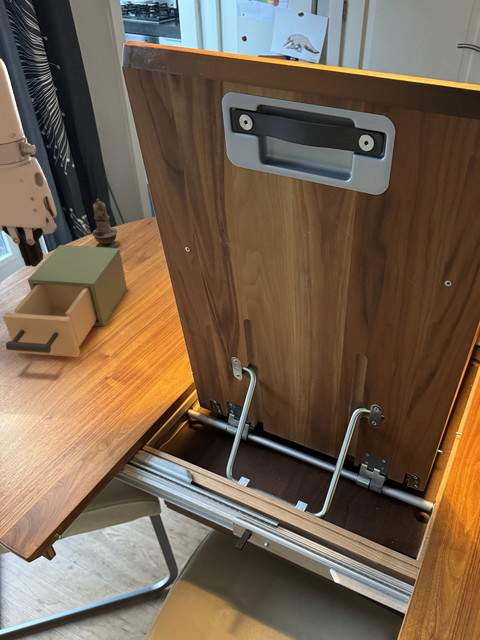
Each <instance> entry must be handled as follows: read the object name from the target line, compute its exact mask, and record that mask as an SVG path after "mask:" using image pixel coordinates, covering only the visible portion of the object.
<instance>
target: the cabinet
mask: <svg viewBox="0 0 480 640" xmlns="http://www.w3.org/2000/svg"><path fill="white" fill-rule="evenodd" d="M27 282H28V286H29V288H30V291H31V290H32V289H33V288H34V287H35V286H36V285H37V284H50V285H66V286H82V287H91V291H92V296H93V300H94V304H95V308H96V312H97V316H98V319H97V320H96V322H95V323H94V325H93V326H92V327H105V325H106V324H107V322H108V320H109V319H110V318H111V315H112V314H113V313H114V311H115V309H116V308H117V306H118V305H119V303H120V301H121V299H122V297H123V296H124V294H125V293H126V291H127V290H128V288H127V282H126V277H125V271H124V267H123V261H122V255H121V251H120V248H119V247H117V248H104V247H96V246H86V245H85V246H84V245H69V244H68V245H67V244H59V245H58V246H57V247H56V248H55V249H54V251H52V253H51V254H49V256H48V257H47V258H46V260H44V262H42V263H41V265H39V266H38V268H36V270H35V271H34V272H33V273H32V274H31V275H30V277H28V278H27Z"/></svg>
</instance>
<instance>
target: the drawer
mask: <svg viewBox="0 0 480 640" xmlns="http://www.w3.org/2000/svg"><path fill="white" fill-rule="evenodd" d="M13 311H14V312H5V313H4V314H3V315H2V318H3V321H4V323H5V326H6V329H7V331H8V334H9V337H10V340H9V341H6V343H5V350H7V351H15V353H17V354H32V355H45V356H46V355H47V356H61V357H72V358H73V357H75V358H78V357H79V356H80V354H81V350H80V346H81V345H82V343H83V342H84V341H85V339H86V337H87V335H88V334H89V333H90V331H91V330H92V328H93V327H94V326H93V325H94V323H95V322H96V320H97V319H98V316H97V312H96V308H95V304H94V300H93V296H92V291H91V287H82V286H66V285H50V284H37V285H36V286H35V287H34V288H33V289H32V290H31V289H30V291H29V292H28V293H27V295H26V296H25V297H24V298H23V299H22V300H21V301H20V302H19V303H18V305H17V306H15V308H14V309H13Z"/></svg>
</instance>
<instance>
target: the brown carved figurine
mask: <svg viewBox="0 0 480 640" xmlns="http://www.w3.org/2000/svg"><path fill="white" fill-rule="evenodd" d="M92 208H93V213H94V217H93V220H95V224H96V229H94V230H93V231H92V232H91V234H92V236H93V237H94V240H95V241H96V242H97V244H96V246H95V247H104V248H119V243H118V242H117V241H116V239H117V233H118V230H117V229H116V228H114V227H112V226H111V224H110V221H109V219H110V215H108V212H107V207H106V204H105V202H103V201H100V199H99V198H96V201H95V202H93V205H92Z"/></svg>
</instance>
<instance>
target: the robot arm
mask: <svg viewBox="0 0 480 640" xmlns="http://www.w3.org/2000/svg"><path fill="white" fill-rule="evenodd" d="M7 69H8V68H7V67H6V64H5V62H4V61H3V59H2V58H1V57H0V232H4V233H5V234H6V235H8V236H9V237H10V238H11V239H12V242H13V244H16V245H17V246H18V249H19V253H20V256H21V258H22V260H23V262H24V265H25V267H33V268H35V267H37V266H38V265H40V263H41V262H42V261H43V260H44V252H43V248H42V244H41V241H40V239H41V238H42V236H43V235H49V234H54V233H55V232H56V231H57V230H58V227H57V224H56V222H55V220H54V219H55V218H56V217H57V215H58V214H57V213H58V212H57V208H56V204H55V201H54V198H53V195H52V191H51V189H50V186H49V184H48V180H47V178H46V176H45V174H44V172H43V169H42V167H41V165H40V163H39V162H38V160H37V158H36V157H35V156H34V155H35V154H37V153H36V152H37V149H36V146H35V144H30V143H28V140H27V137H26V136H25V132H24V129H23V124H22V121H21V117H20V113H19V110H18V107H17V106H18V105H17V103H16V100H15V95H14V93H13V92H14V91H13V88H12V85H11V80H10V76H9V73H8V70H7ZM31 155H33V156H34V157H33V156H31Z"/></svg>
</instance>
